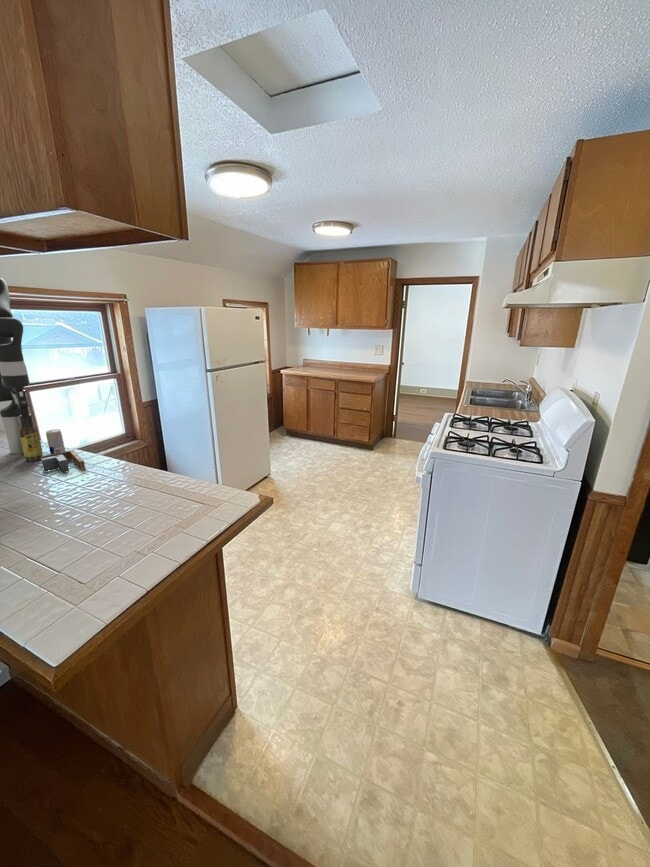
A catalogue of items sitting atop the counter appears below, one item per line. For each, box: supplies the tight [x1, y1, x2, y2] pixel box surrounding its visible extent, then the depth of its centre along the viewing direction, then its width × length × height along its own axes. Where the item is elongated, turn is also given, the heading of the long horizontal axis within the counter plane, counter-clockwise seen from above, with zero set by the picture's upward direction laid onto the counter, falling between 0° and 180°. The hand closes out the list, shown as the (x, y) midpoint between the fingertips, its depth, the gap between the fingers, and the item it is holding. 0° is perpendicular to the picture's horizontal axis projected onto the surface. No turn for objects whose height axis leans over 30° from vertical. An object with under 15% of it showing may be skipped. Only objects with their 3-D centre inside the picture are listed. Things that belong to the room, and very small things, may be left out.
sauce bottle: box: [19, 413, 44, 462], centre depth 148 cm, size 6×6×20 cm
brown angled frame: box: [42, 449, 86, 472], centre depth 142 cm, size 18×11×4 cm, turn 46°
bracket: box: [40, 455, 70, 473], centre depth 138 cm, size 7×8×5 cm
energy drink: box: [45, 429, 66, 454], centre depth 152 cm, size 5×5×12 cm
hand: (23, 415), depth 133 cm, fingers open, 8 cm apart
